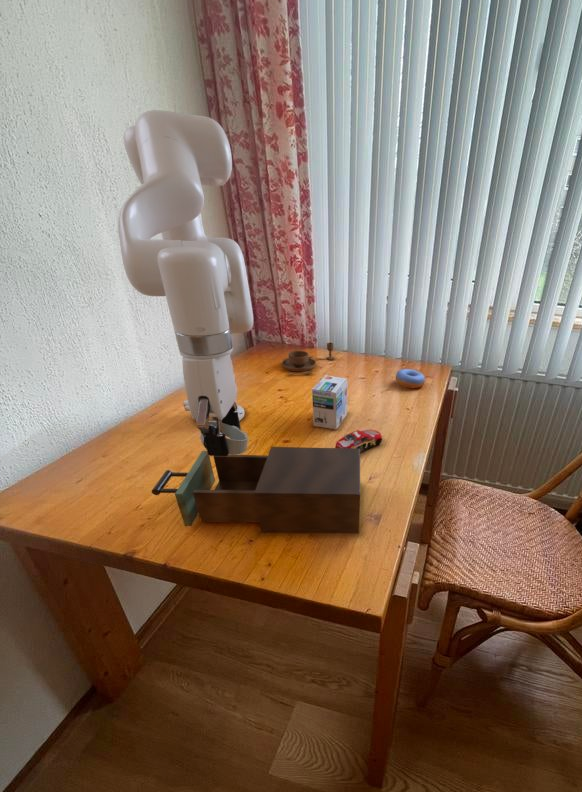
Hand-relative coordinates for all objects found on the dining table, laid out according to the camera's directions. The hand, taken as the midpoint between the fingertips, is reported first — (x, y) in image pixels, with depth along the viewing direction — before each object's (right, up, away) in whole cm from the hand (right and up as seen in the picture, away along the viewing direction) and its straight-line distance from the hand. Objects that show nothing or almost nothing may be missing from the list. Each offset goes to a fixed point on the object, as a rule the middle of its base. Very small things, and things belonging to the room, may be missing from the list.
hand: (225, 442), depth 67 cm
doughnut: (+37, +23, +64) cm, 77 cm away
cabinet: (+14, -12, +9) cm, 21 cm away
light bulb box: (+13, +8, +40) cm, 43 cm away
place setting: (+1, +32, +73) cm, 79 cm away
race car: (+22, 0, +29) cm, 36 cm away
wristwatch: (0, -1, +1) cm, 1 cm away
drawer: (-3, -11, +7) cm, 14 cm away
